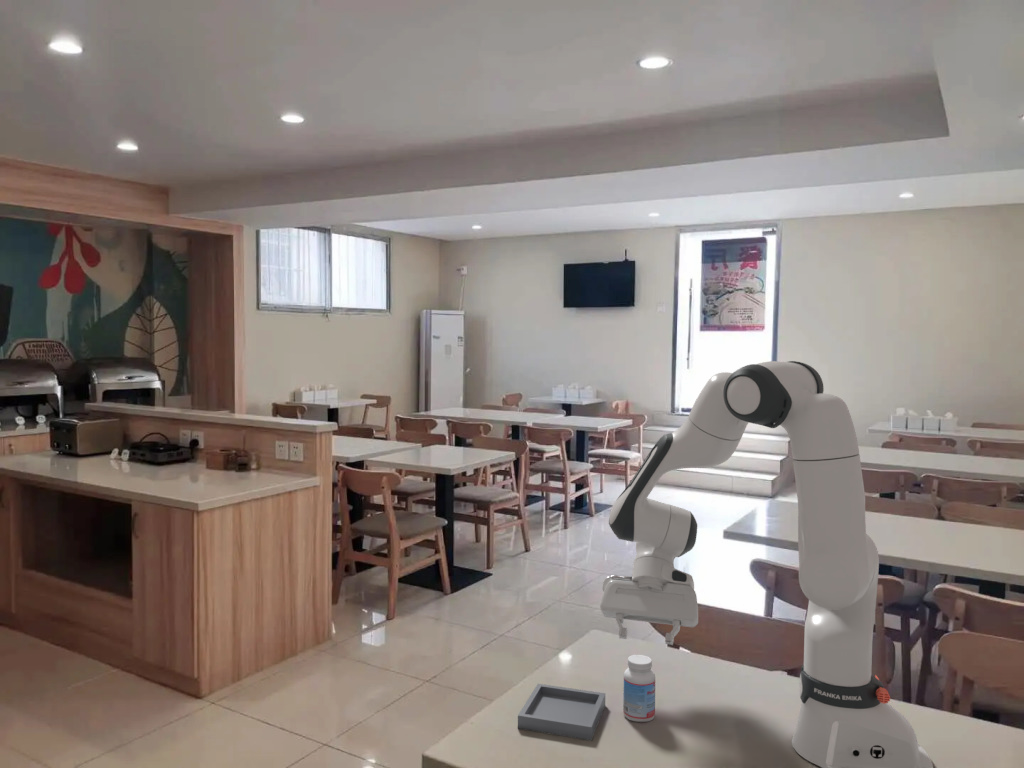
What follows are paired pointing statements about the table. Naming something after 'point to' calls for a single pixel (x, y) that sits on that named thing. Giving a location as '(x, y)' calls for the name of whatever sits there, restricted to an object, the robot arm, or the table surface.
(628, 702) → the pill bottle
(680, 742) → the table surface
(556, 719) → the tray
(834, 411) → the robot arm
